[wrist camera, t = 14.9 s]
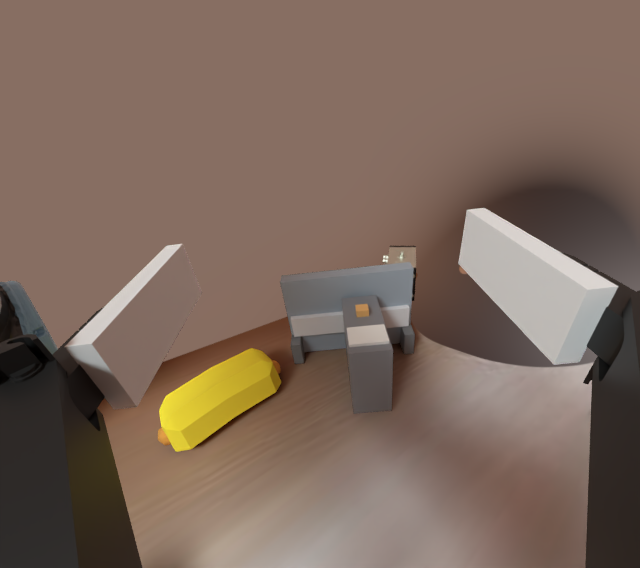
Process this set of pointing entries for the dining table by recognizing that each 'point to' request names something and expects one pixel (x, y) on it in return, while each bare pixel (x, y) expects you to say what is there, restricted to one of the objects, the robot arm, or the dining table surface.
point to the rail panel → (326, 306)
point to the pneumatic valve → (402, 259)
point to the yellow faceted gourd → (216, 398)
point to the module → (368, 354)
